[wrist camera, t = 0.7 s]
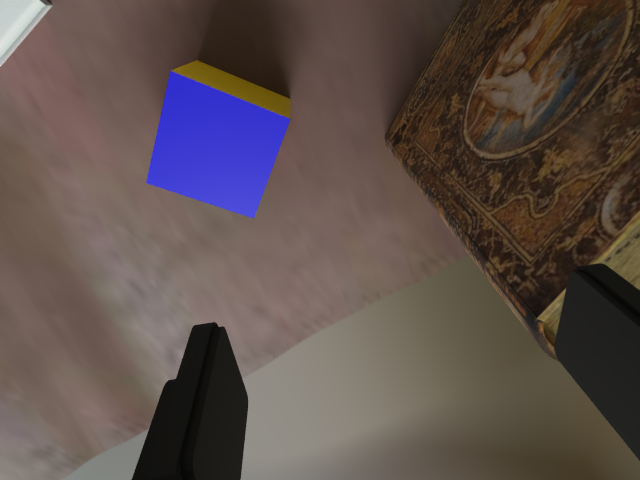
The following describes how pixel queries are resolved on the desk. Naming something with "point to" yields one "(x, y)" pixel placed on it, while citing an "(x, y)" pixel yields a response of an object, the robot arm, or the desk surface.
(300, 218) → the desk surface
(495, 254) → the book
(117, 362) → the desk surface
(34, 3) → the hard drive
